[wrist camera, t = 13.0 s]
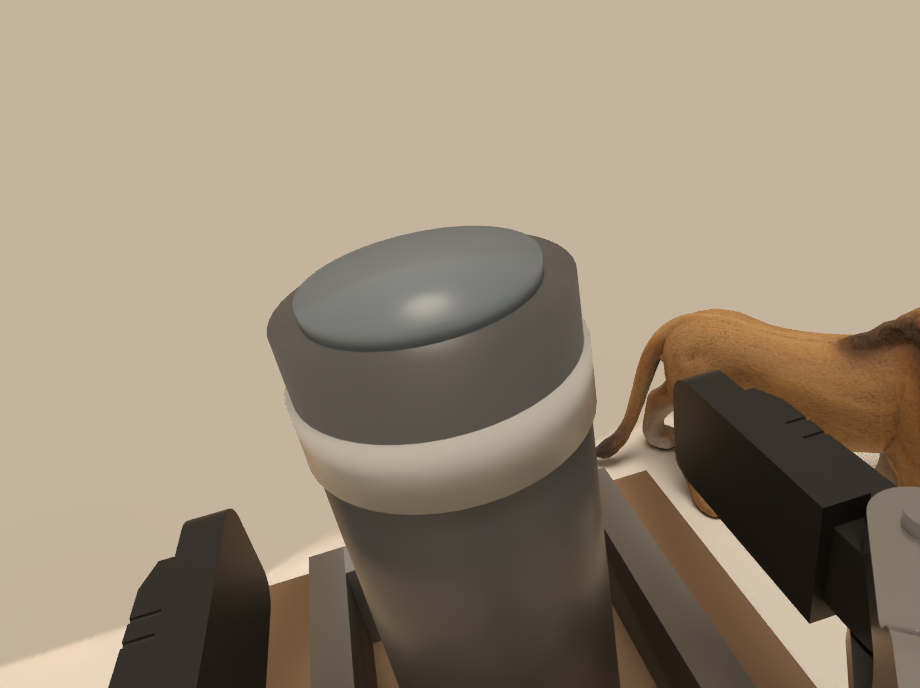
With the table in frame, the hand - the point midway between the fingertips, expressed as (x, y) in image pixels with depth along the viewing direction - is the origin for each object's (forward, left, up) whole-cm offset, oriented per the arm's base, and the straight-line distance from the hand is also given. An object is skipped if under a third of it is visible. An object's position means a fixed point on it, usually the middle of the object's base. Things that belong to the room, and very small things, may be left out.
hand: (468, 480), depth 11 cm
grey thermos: (0, -1, -8) cm, 9 cm away
